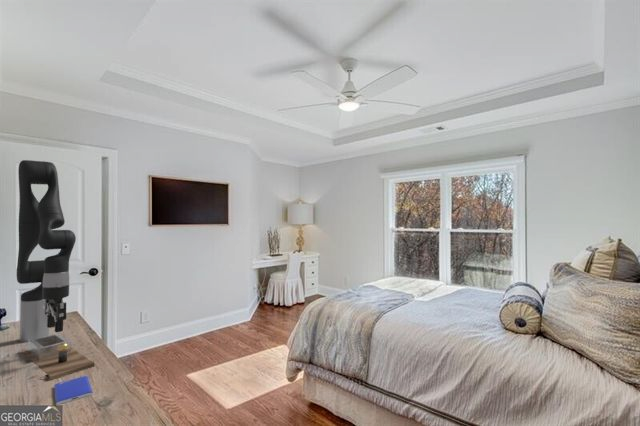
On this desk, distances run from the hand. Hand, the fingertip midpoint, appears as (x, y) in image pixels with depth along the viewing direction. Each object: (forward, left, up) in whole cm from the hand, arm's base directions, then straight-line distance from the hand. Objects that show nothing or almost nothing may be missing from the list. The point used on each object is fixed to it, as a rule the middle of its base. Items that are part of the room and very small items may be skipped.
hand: (54, 329), depth 115 cm
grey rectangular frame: (-7, 0, -10) cm, 12 cm away
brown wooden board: (+2, 0, -11) cm, 11 cm away
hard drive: (+31, -4, -12) cm, 33 cm away
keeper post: (+8, 0, -10) cm, 12 cm away
